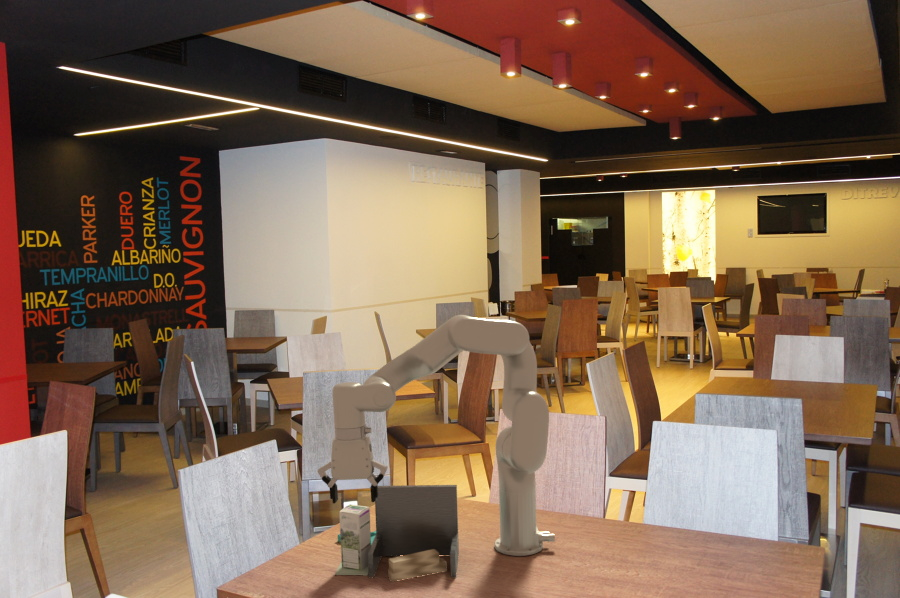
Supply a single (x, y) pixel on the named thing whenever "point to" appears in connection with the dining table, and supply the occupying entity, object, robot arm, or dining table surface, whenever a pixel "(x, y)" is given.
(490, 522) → the dining table surface
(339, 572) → the mat
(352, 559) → the syrup box
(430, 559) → the offcut stack
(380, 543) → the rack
